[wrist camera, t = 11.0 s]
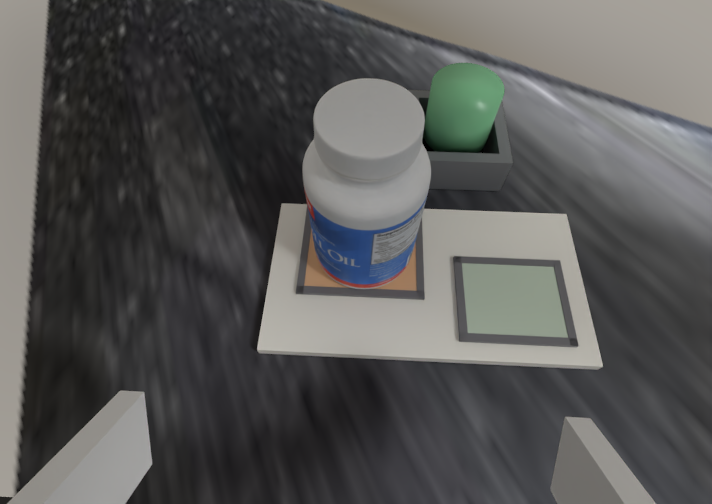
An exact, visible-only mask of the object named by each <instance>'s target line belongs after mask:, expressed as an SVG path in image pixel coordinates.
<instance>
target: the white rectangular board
mask: <svg viewBox="0 0 712 504" xmlns="http://www.w3.org/2000/svg"><path fill="white" fill-rule="evenodd" d="M257 351H258V352H259V353H263V354H284V355H304V356H325V357H346V358H366V359H387V360H407V361H428V362H449V363H469V364H490V365H511V366H531V367H552V368H572V369H593V370H597V369H600V368H602V367H603V363H602V359H601V355H600V351H599V347H598V343H597V339H596V334H595V330H594V326H593V322H592V318H591V314H590V310H589V305H588V301H587V297H586V293H585V289H584V285H583V281H582V276H581V272H580V268H579V264H578V260H577V256H576V252H575V247H574V243H573V239H572V235H571V231H570V227H569V223H568V218H567V214H550V213H524V212H498V211H471V210H445V209H424V210H423V214H422V218H421V222H420V226H419V229H418V233H417V237H416V241H415V245H414V249H413V252H412V255H411V258H410V261H409V263H408V265H407V267H406V268H405V270H404V271H403V272H402V273H401V274H400V275H399V276H398V277H397V278H396V279H395V280H393V281H391V282H390V283H388V284H386V285H383V286H380V287H377V288H372V289H355V288H350V287H347V286H344V285H342V284H339V283H338V282H336V281H334V280H333V279H332V278H331V277H329V276H328V275H327V274H326V272H325V271H324V270H323V268H322V267H321V265H320V263H319V261H318V259H317V256H316V252H315V248H314V241H313V235H312V229H311V223H310V218H309V212H308V206H307V204H287V203H282V205H281V210H280V216H279V222H278V228H277V234H276V240H275V246H274V252H273V258H272V264H271V269H270V275H269V281H268V287H267V293H266V299H265V305H264V311H263V317H262V323H261V328H260V334H259V340H258V346H257Z"/></svg>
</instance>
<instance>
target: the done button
mask: <svg viewBox="0 0 712 504" xmlns="http://www.w3.org/2000/svg"><path fill="white" fill-rule="evenodd" d="M503 95H504V85H503V82H502V81H501V79H500V78H499V77H498V76H497V75H496V74H495V73H494V72H493V71H491V70H489V69H488V68H485V67H483V66H480V65H477V64H472V63H456V64H451V65H448V66H445V67H443V68H442V69H440V70H439V71H438V72H437V73H436V74H435V75H434V77H433V79H432V84H431V89H430V95H429V100H428V106H427V111H426V117H425V124H424V131H423V136H424V139H425V141H426V143H427V144H428V146H429V147H430V148H431V149H433V150H434V151H435V152H460V153H478V152H480V151H481V150H482V149H483V147H484V146H485V144H486V141H487V138H488V136H489V133H490V130H491V128H492V125H493V122H494V120H495V117H496V114H497V112H498V109H499V106H500V104H501V101H502V98H503Z"/></svg>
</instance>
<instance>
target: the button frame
mask: <svg viewBox="0 0 712 504" xmlns="http://www.w3.org/2000/svg"><path fill="white" fill-rule="evenodd" d="M408 91H409V92H411V93H412V94H413V95H414V96H415V97H416V98H417V100H418V101H419V103H420V104H421V106H422V108H423V111H424V116H425V117H426V111H427V106H428V100H429V95H430V90H408ZM483 152H484V153H460V152H430V151H427V153H428V156H429V160H430V164H431V180H430V185H429V189H451V190H478V191H500V190H501V188H502V186H503V184H504V182H505V180H506V178H507V175H508V173H509V171H510V169H511V167H512V165H513V159H512V153H511V148H510V142H509V137H508V131H507V125H506V120H505V114H504V108H503V103H502V101H501V104H500V106H499V109H498V112H497V114H496V117H495V120H494V122H493V125H492V128H491V130H490V133H489V136H488V138H487V141H486V144H485V146H484V147H483Z"/></svg>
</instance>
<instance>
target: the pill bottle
mask: <svg viewBox="0 0 712 504" xmlns="http://www.w3.org/2000/svg"><path fill="white" fill-rule="evenodd" d="M313 122H314V139H313V141H312V142H311V144H310V145H309V147H308V149H307V151H306V153H305V156H304V160H303V168H302V172H303V182H304V189H305V195H306V201H307V206H308V212H309V218H310V223H311V229H312V235H313V241H314V248H315V252H316V256H317V259H318V261H319V263H320V265H321V267H322V268H323V270H324V271H325V272H326V274H327V275H328V276H329V277H331V278H332V279H333V280H334V281H336V282H338V283H339V284H342V285H344V286H347V287H350V288H355V289H372V288H377V287H380V286H383V285H386V284H388V283H390V282H391V281H393V280H395V279H396V278H397V277H398V276H399V275H400V274H401V273H402V272H403V271H404V270H405V268H406V267H407V265H408V263H409V261H410V258H411V255H412V252H413V249H414V245H415V241H416V237H417V233H418V229H419V226H420V222H421V218H422V214H423V210H424V206H425V202H426V199H427V195H428V190H429V185H430V180H431V164H430V160H429V156H428V153H427V151H426V149H425V147H424V145H423V144H422V138H423V131H424V124H425V116H424V111H423V108H422V106H421V104H420V103H419V101H418V100H417V98H416V97H415V96H414V95H413V94H412V93H411V92H409V91H408V90H407V89H405V88H403V87H402V86H400V85H398V84H395V83H393V82H390V81H386V80H380V79H369V78H363V79H355V80H351V81H347V82H344V83H342V84H339V85H337V86H335V87H333V88H332V89H330V90H329V91H328V92H327V93H325V94H324V95H323V96H322V97H321V99H320V100H319V102H318V103H317V106H316V108H315V111H314V117H313Z"/></svg>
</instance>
